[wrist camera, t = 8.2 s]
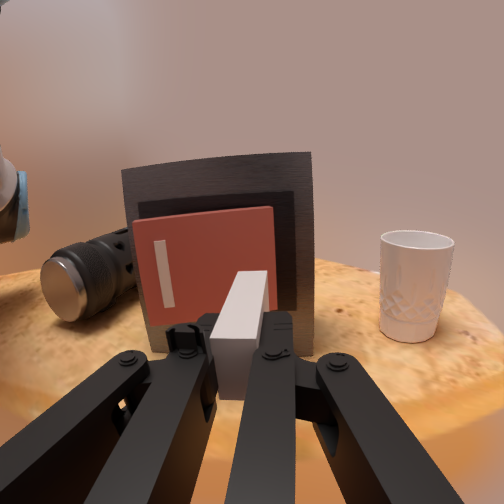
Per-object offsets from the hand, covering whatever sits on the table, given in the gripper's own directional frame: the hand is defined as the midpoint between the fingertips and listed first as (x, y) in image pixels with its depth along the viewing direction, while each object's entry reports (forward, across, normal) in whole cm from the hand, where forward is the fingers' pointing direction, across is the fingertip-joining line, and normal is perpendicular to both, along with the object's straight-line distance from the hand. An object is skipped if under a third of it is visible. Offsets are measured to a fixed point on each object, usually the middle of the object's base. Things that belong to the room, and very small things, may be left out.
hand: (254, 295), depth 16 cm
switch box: (+13, -4, -10) cm, 17 cm away
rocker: (+6, -4, -4) cm, 9 cm away
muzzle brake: (+25, -23, -11) cm, 36 cm away
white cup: (+13, +15, -11) cm, 23 cm away
